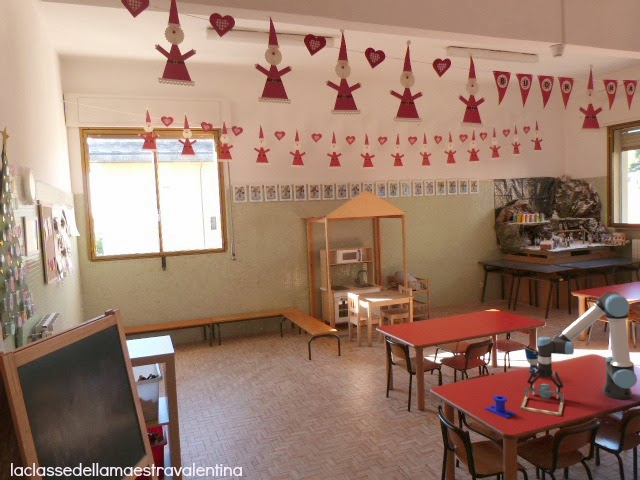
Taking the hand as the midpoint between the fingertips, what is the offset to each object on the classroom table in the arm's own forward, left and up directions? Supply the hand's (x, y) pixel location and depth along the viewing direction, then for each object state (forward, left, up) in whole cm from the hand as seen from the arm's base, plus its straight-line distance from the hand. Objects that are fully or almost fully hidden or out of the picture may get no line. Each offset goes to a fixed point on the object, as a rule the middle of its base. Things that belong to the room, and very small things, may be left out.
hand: (545, 396), depth 293 cm
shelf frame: (0, +16, 0) cm, 16 cm away
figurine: (+12, -36, 0) cm, 38 cm away
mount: (+20, +35, -1) cm, 40 cm away
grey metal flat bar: (0, +7, 0) cm, 7 cm away
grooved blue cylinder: (0, 0, 0) cm, 0 cm away
